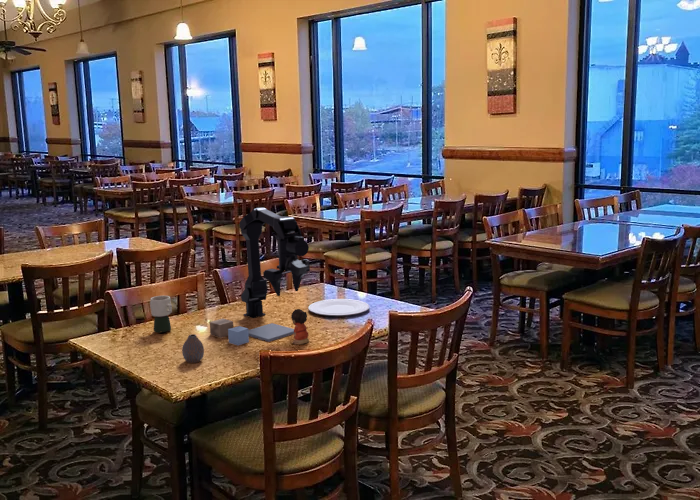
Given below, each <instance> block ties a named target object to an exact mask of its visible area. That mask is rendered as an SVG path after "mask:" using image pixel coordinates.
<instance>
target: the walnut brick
mask: <svg viewBox="0 0 700 500" xmlns="http://www.w3.org/2000/svg"><path fill="white" fill-rule="evenodd" d="M231 328H234V321H233V320H231V319H230V320H229V319H226V318H220V319H216V320H212V321H209V333H210V335H211V336H213V337H216V338H219V339H222V338H226V337H228V329H231Z"/></svg>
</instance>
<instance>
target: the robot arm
mask: <svg viewBox="0 0 700 500" xmlns="http://www.w3.org/2000/svg"><path fill="white" fill-rule="evenodd" d="M265 224H266V225H269V226H270V227H272V229H273V231H274V232H276V236H275V239H276V240H277V239H278V254H276V257H275V258H276V259H278V265H276V269H275V268H268V269H266V270H264V271H263V276H262V269H261V267H262V266H261V256H260V255H261V254H260V242H259V239H260V237H261V235H262V233H263V226H264V225H265ZM238 225H239V228H240V233H241V235H242V236H243V238H244V239H245V245H246V259H247V271H248V277H247V279H246V281H245V283H244V289H243V292H242V293H241V295H240V298H241V302H244V303H245V310H246V311H245V313H243V314H242V315H243V317H247V318H251V319H255V318H260V317H262V316H263V317H264V316H265V315H266V313H264V311H263V309H264V308H263V306H264V305H263V301H266V299H267V294H268V287H267V286H268V285H267V284H268V282H269V283H270V285H271V286H272V289H273V290H274V292H275V294H276V296H277V297H280V296H281V282H282V281H283V278H282V277H283V275H286V274H290V273H291V276H292V277H291V278H292V282H293V288H294V291H295V292H298V291H299V288H300V285H301V282H302V279H303V277H304V276H305V275H307V274H308V272H310V270H311V267H310V260H309V259H307V258H305V259H301V260H299V259H298V257H304V256H305V255H307V254H308V252H309V247H310V246H309V244H308V242H307V241H306V240H305V238H304V236H303V234H302V230H301V229H300V227H299V224H298V223H297V221H296V218H295V217H293V216H286V215H285V216H283V215H282V216H281V215H279V214H277V213H274V212H273V211H271V210H268V209H267V208H265V207H256V208H254V209H253V208H252V209H251V211H250V212H249V213H247V214H246V215H244V216H243V217H242V218H241V219H240V221H239V224H238ZM267 281H268V282H267Z"/></svg>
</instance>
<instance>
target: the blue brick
mask: <svg viewBox="0 0 700 500" xmlns="http://www.w3.org/2000/svg"><path fill="white" fill-rule="evenodd" d="M248 330H249V328H247V327H244V326H240V325H238V326H235V327H234V326H233V328H231V329H228V336H227V337H228V343H229V344H232V345H236V346H241V345H244V344H246V343H247V344H248V343H250V340H249V338H250V336H249V333H248Z"/></svg>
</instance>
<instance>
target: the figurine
mask: <svg viewBox="0 0 700 500" xmlns="http://www.w3.org/2000/svg"><path fill="white" fill-rule="evenodd" d="M290 318H291V321H292V324H293V325H294V328H293V329H294V334H293V339H294V340H293V341H292V344H294V345H303V344H307V343H309V342H310V339H309V332H308V330H307V329H308V327H307V326H306V324H305V323H306V322H307V319H308V313H307V311H304V310H302V309H300V308H297V309H294V310H293V311H292V313H291V317H290Z"/></svg>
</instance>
